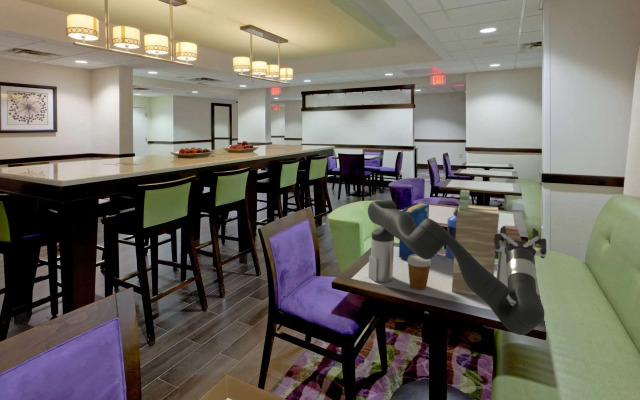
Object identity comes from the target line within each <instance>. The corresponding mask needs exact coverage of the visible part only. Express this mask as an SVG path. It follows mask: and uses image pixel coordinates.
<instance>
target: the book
mask: <svg viewBox="0 0 640 400" xmlns="http://www.w3.org/2000/svg"><path fill="white" fill-rule="evenodd" d="M401 211H404V212H406V213H407V214H409V215H411V216H412V217H413V218H414V220H415V223H416V228H417V227H418V226H419V224H420V223H421V222H422V221H423V220H424V219H427V218H428V219H430V214H429V213H430V204H429V203H427V204H425V203H424V202H422V203H419V202H415V203H412V204H411V205H408V206H407V207H404V209H403V210H401ZM398 240H399V239H398ZM398 244H399V245H398V246H399V249H398V250H399V251H398V258H400V259H402V260H405V261H407V259H408V257H409V256H410V255H414V254H415V253H414V252H413V251H412V250H411V249H410V248H408V247H407V246H406V245H405V244H404V243H403V242H402V241H401V240H399V243H398Z"/></svg>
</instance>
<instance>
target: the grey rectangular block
mask: <svg viewBox="0 0 640 400" xmlns="http://www.w3.org/2000/svg"><path fill="white" fill-rule="evenodd" d="M499 243H500V244H501V245H502V247H504V248H505V245H504V243H503V242H502V241H501V240H500V241H499ZM496 278H497V279H498V280H500V281H501V282H502V283H503V284H504V285H506V286H507V287H508V279H507V272H506V253H505V252H500V251H499V253H498V258H497V268H496ZM507 299H508V301H509V302H510V303H513V304H516V301H514V300H512V299H511V298H510V296H509V294H508V296H507Z"/></svg>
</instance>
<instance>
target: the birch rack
mask: <svg viewBox="0 0 640 400" xmlns="http://www.w3.org/2000/svg"><path fill="white" fill-rule="evenodd" d="M458 207H459V208H458V211H457V224H456V240H457V241H458V242H459V243H460V244H461V245H462V246H463V247H464V248H465V249H466V250H467V251H468V252H469V253H470V254H471V255H472V256H473V258H474V259H475V260H476V261H477V262H478V263H480V264H481V265H482V266H483V267H484V268H485V269H486V270H487V271H489V272H490V273H491V274H492V275H493V276H495V266H496V265H495V264H496V263H495V262H496V254H497V253H495V248H494V236H495V234H498V233H499V232H498V231H499V218H500V213H499V212H500V211H499V207H498V206H489V205H488V206H487V205H474V204H473V205H471V204H470V190H467V189H461V190H460V191H459V204H458ZM452 270H453V271H452V283H451V292H452V293H456V292H457V293H458V294H463V295H468V296H476V297H479V296H478V295H476V294H475V293H474V292H473V291H472V290H471V289H470V288H469V287H468V286H467V284H466V283H465V281H464V279H463V276H462V273H461V270H460V267H459V265H458V262H457V260H456V258H455V256H454V259H453V269H452Z"/></svg>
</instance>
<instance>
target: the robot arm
mask: <svg viewBox="0 0 640 400" xmlns="http://www.w3.org/2000/svg"><path fill="white" fill-rule="evenodd" d="M367 215H368V218H369V220H370V221H371V222H372V223H373V224H376V225H378V226H380V227H378V228H376V229H374V230H373V231H372V232H371V242H370V243H371V246H370V247H371V249H370V250H371V252H370V255H369V256H368V277H369V278H370V279H371V280H373V281H374V282H375V283H376V282H379V283H382V282H383V283H386V282H390V281H392V280H393V278H394V275H393V273H394V254H395V253H394V252H395V251H394V250H395V238H396V239H397V240H401V241H402V242H403V243H404V244H405V245H406V246H407V247H408V248H410V249H411V250H412V251H413V252H414V253H415V254H416V255H417V256H419V257H421V258H422V259H425V260H429V259H432V258H433V257H435V256H436V254H437V253H439V251H441V249H442V248H443V247H444V246H446V245H447V246H448V247H449V249H450V250H451V251H452V252H453V254H454V256H455V258H456V260H457V262H458V265H459V267H460V270H461V273H462V276H463V279H464V281H465V283H466V284H467V286H468V287H469V288H470V289H471V290H472V291H473V292H474V293H475V294H476V295H478V296H477V297H479V298H480V299H481V300H482V301H484V302H485V304H486V305H488V306H489V308H490V309H491V311H492V312H493V314H494V315H495V316H496V318H498V320H499V321H500V323H501V324H502V325H503V326H504V327H505V329H507V330H508V331H509V332H511V333H513V334H514V335H515V334H516V335H518V336H523V335H524V336H525V335H527V334H528V333H529V332H531V331H533V330H534V329H535V328H537V327H539V325H541V324H542V323H543V321H544V319H545V309H544V305H543V304H542V301H541V299H540V297H539V295H538V292H537V284H536V283H537V280H536V279H537V268H536V261H535V259H536V257H535V256H539V257H540V258H541V259H545V258H546V255H547V239H546V238H540V237H539V231H538V230H537V229H536V228H534V227H533V228H532V231H531V235H532V236H531V237H532V238H531V239H529V240H528V241H525V240H522V241H518V240H514V241H513V240H512V239H511V238H510V237H507V236H506V235H505V234H506V227H505V225H502V227H500V230H499V232H500V233H499V234H498V233H497V234H495V236H494V248H495V253H496V254H499V251H500V252H505V253H506V272H507V279H508V287H507V286H506V285H504V284H503V283H502V282H501V281H500V280H498V279H497V276H495V275H494V276H493V275H492V274H491V273H490V272H489V271H487V270H486V269H485V268H484V267H483V266H482V265H481V264H480V263H478V262H477V261H476V260H475V259H474V258H473V256H472V255H471V254H470V253H469V252H468V251H467V250H466V249H465V248H464V247H463V246H462V245H461V244H460V243H459V242H458V241H457V240H456V239H455V238H453V237H452V236H451V235H450V234H449V233H448V230H447V229H445V228H444V227H443V226H442V225H441V224H440V223H438V222H436V221H435V220H433V219H432V218H427V219H424V220H423V221H422V222H421V223H420V224H419V226H418V227H417V228H416V223H415V220H414V218H413V217H412V216H411V215H409V214H407V213H406V212H404V211H402V210H401V209H397V205H396V203H395V201H394V200H373V201H371V203H369V205H368V208H367ZM500 240H501V241H502V242H503V243H504V245H505V248H504V247H502V245H501V244H500ZM538 245H539V246H540V247H539V248H538V250H536V249H535V247H536V246H538ZM508 294H509V296H510V298H511V299H512V300H514V301H516V303H513V305H512V304H511V302H509V301H508V299H507V296H508Z"/></svg>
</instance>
